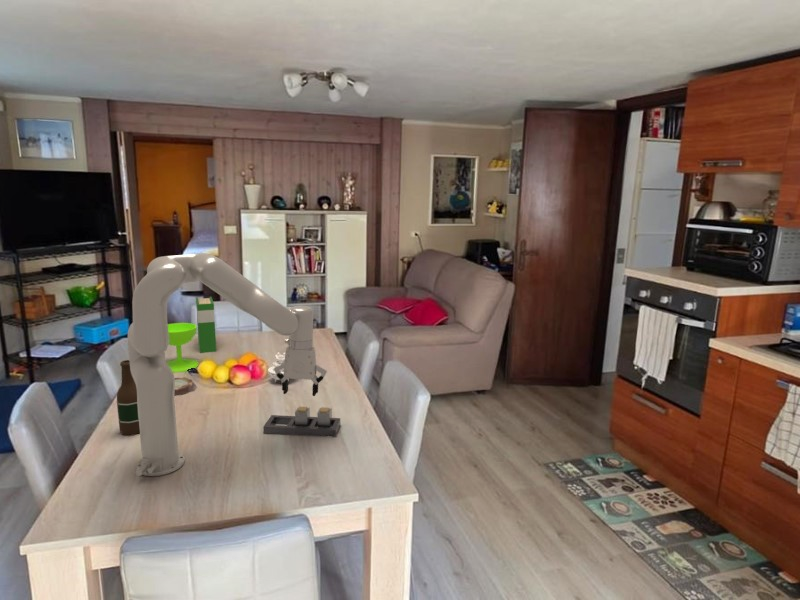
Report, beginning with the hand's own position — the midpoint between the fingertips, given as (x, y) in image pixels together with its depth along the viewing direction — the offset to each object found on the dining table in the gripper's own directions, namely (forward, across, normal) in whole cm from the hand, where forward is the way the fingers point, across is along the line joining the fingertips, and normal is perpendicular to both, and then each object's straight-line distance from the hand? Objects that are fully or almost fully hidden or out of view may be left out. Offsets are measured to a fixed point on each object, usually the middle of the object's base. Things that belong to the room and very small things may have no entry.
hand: (300, 393), depth 172 cm
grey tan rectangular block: (+13, +8, +1) cm, 15 cm away
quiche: (+15, -57, +30) cm, 66 cm away
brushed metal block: (+13, +1, +1) cm, 13 cm away
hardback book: (+13, -68, +85) cm, 109 cm away
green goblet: (+14, -68, +56) cm, 89 cm away
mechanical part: (+13, -18, +44) cm, 49 cm away
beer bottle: (+15, -54, -6) cm, 56 cm away
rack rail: (+13, +1, +1) cm, 13 cm away
